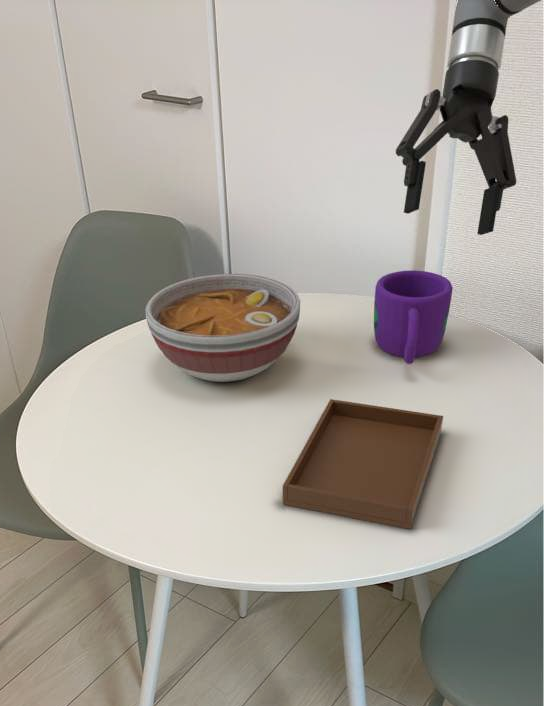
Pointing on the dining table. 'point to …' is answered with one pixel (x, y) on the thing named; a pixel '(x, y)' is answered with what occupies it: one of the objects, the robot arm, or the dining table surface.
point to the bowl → (223, 324)
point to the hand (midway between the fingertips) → (448, 222)
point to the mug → (411, 313)
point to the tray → (365, 463)
